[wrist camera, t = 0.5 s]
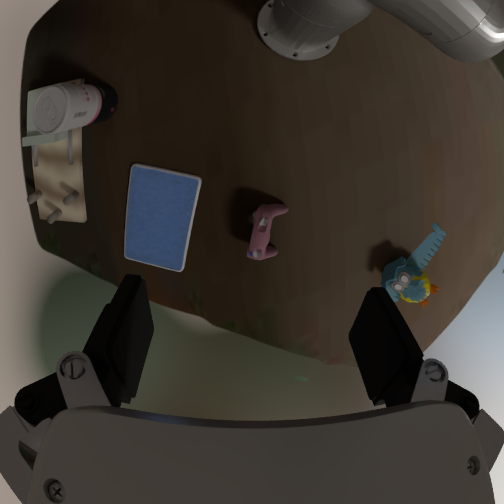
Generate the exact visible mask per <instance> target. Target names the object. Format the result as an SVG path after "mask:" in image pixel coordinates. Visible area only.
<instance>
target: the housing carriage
mask: <svg viewBox="0 0 504 504" xmlns="http://www.w3.org/2000/svg"><path fill="white" fill-rule="evenodd" d="M66 84H71V83H60V84H55V85H66ZM51 86H52V85H51ZM48 87H50V86H47V87H44V88H40V89H36V90H33V91H29V92H28V103H27V136H26V137H24V138H22V143H23V146H30V145H37V144H45V143H54V142H57V141H60V140H63V139H66V138H68V130H67V131H63V132H60V133H57V134H53V135H45V134H42V133H40V132H39V131H38V130H37V129H36V128H35V126H34V123H33V118H32V112H33V106H34V103H35V100H36V98H37V97H38V95H39V94H40V93H41V92H42V91H43V90H44V89H46V88H48Z"/></svg>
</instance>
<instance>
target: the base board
mask: <svg viewBox="0 0 504 504" xmlns="http://www.w3.org/2000/svg"><path fill="white" fill-rule="evenodd" d="M84 80H85V79H77V80H72V81H67V82H62V83H71V84H84ZM58 84H60V83H58ZM54 85H55V84H54ZM50 86H51V85H50ZM46 87H47V86H46ZM42 88H44V87H42ZM38 89H40V88H38ZM35 90H36V89H35ZM32 160H33V172H34V182H35V190H36V192H35V193H33V194H32V195H30V196H29V197H28V198H27V201H28V203H29V204H32V203H33V202H35V201H36V200H37V204H38V210H39V215H40V219H47V221H48V223H50V224H52V223H53V222H54V221H55V220H61V221H73V222H85V221H86V220H87V216H86V207H85V198H84V187H83V172H82V127H78V128H74V129H71V130H68V138H66V139H63V140H60V141H57V142H54V143H45V144H37V145H32Z"/></svg>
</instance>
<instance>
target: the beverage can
mask: <svg viewBox="0 0 504 504" xmlns="http://www.w3.org/2000/svg"><path fill="white" fill-rule="evenodd" d="M117 105H118V96H117V93H116V91H115V90H114V89H113V88H112V87H110V86H108V85H90V84H66V85H52V86H50V87H48V88H46V89H44V90H43V91H42V92H41V93H40V94H39V95H38V97H37V98H36V100H35V103H34V106H33V112H32V118H33V123H34V126H35V128H36V129H37V130H38V131H39V132H40V133H42V134H45V135H53V134H57V133H60V132H63V131H67V130H71V129H74V128H78V127H82V126H86V125H90V124H94V123H99V122H103V121H106V120H108V119H109V118H110V117H111V116H112V115H113V114H114V112H115V111H116V108H117Z"/></svg>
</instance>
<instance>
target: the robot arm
mask: <svg viewBox="0 0 504 504" xmlns="http://www.w3.org/2000/svg"><path fill="white" fill-rule="evenodd" d="M374 5H375V6H377V7H379V8H381V9H382V10H384V11H387V12H388V13H390V14H391V15H393V16H394V17H396V18H397V19H399V20H400V21H402V22H403V23H405V24H406V25H408V26H409V27H410V28H412V29H413V30H414V31H416V32H417V33H418V34H420V35H421V36H422V37H424V38H425V39H427V40H428V41H429V42H430V43H432V44H433V45H434V46H435V47H437V48H438V49H439V50H440V51H442V52H443V53H445V54H446V55H448V56H449V57H451V58H453V59H455V60H458V61H461V62H466V63H475V62H480V61H484V60H486V59H489V58H491V57H493V56H494V55H496V54H497V53H499V52H500V51H502V50H503V49H504V0H269V1H268V2H267V3H266V4H265V5H264V6H263V7H262V9H261V10H260V12H259V15H258V20H257V28H258V32H259V35H260V37H261V39H262V40H263V42H264V43H265V44H266V45H267V47H269V48H270V49H271V50H272V51H273V52H275V53H277V54H278V55H280V56H282V57H285V58H287V59H291V60H296V61H311V60H315V59H318V58H321V57H323V56H325V55H326V54H328V53H329V52H330V51H332V50H333V48H334V47H335V45H336V44H337V41H338V39H339V34H341V33H342V32H344V31H345V30H347V29H349V28H350V27H352V26H354V25H355V24H357V23H358V22H360V21H362V20H363V19H365V18H366V17H367V16H368V15H369V14H370V13H371V11H372V10H373V8H374ZM268 6H271V8H270V7H268ZM264 34H267V36H264ZM326 47H328V49H326ZM293 54H295V55H296V57H294V56H293ZM153 332H154V325H153V320H152V315H151V310H150V305H149V300H148V295H147V289H146V283H145V280H144V279H141V277H140V275H132V274H126V275H125V277H124V279H123V280H122V282H121V284H120V286H119V288H118V289H117V291H116V293H115V295H114V297H113V299H112V301H111V303H110V304H109V303H108V304H106V306H105V307H104V309H103V311H102V313H101V314H100V316H99V318H98V320H97V322H96V324H95V326H94V328H93V330H92V332H91V335H90V336H89V338H88V341H87V343H86V345H85V347H84V349H83V351H82V352H80V351H72V352H68V353H67V354H64V355H63V356H62V357H61V358H60V359H59V361H58V363H57V366H56V372H55V373H53V374H51V375H49V376H47V377H45V378H43V379H40V380H38V381H36V382H34V383H32V384H30V385H28V386H25V387H23V388H22V389H20V390H19V392H18V393H17V395H16V397H15V403H14V404H15V405H14V406H13V407H11V406H9V407H8V408H7V409H6V410H5V411H3V412H2V413H1V414H0V473H1V474H2V476H3V477H4V479H5V480H6V482H7V483H8V485H9V486H10V488H11V489H12V490H13V492H14V493H15V495H16V496H17V497H18V499H19V500H20V501H21V502H22V504H495V500H494V493H493V488H492V483H491V478H490V475H489V472H490V470H491V469H492V467H493V465H494V463H495V461H496V459H497V457H498V455H499V453H500V451H501V448H502V446H503V444H504V431H503V429H502V428H501V427H500V426H499V425H498V424H497V423H496V422H495V421H494V420H493V419H492V418H491V417H490V416H489V415H488V414H487V413H486V412H485V411H484V410H483V409H481V410H479V401H478V399H477V398H476V396H475V395H474V394H473V393H471V392H470V391H468V390H466V389H464V388H462V387H461V386H459V385H457V384H455V383H453V382H451V381H450V380H448V371H447V369H446V367H445V366H444V365H443V364H442V363H441V362H440V361H438V360H436V359H426V360H425V361H424V360H423V358H422V357H423V356H424V355H423V353H422V351H421V349H420V347H419V345H418V343H417V341H416V340H415V338H414V336H413V334H412V332H411V330H410V329H409V327H408V325H407V323H406V322H405V320H404V318H403V316H402V315H401V313H400V311H399V310H398V308H397V306H396V305H395V303H394V301H393V300H392V298H391V296H390V295H389V293H388V292H387V290H386V289H385V288H384V287H372V288H371V289H370V290H369V291H367V293H366V296H365V298H364V300H363V303H362V305H361V308H360V310H359V312H358V315H357V317H356V319H355V321H354V324H353V326H352V328H351V330H350V332H349V341H350V344H351V347H352V350H353V352H354V355H355V358H356V361H357V364H358V367H359V370H360V373H361V376H362V379H363V382H364V385H365V388H366V391H367V394H368V397H369V399H370V400H372V401H373V404H374V406H377V405H382V404H386V408H381V409H376V410H371V411H365V412H359V413H353V414H346V415H339V416H331V417H321V418H311V419H298V420H278V421H233V420H214V419H200V418H189V417H180V416H172V415H164V414H157V413H150V412H144V411H138V410H132V409H125V408H119V407H120V406H121V402H123V403H128V404H130V401H131V397H132V398H135V396H136V393H137V389H138V385H139V381H140V378H141V374H142V370H143V367H144V363H145V359H146V356H147V352H148V349H149V346H150V342H151V339H152V336H153Z"/></svg>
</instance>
